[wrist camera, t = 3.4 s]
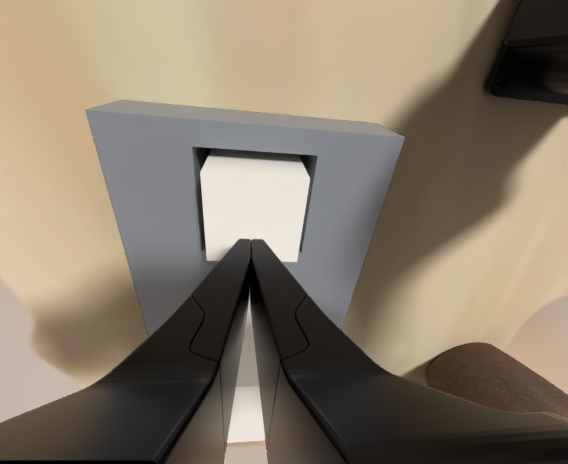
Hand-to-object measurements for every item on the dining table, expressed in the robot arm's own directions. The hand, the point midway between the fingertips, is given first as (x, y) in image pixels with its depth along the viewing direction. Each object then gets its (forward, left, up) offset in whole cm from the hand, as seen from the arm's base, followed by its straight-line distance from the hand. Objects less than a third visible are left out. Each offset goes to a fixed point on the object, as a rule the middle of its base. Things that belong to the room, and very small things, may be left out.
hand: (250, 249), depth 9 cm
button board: (0, +7, -6) cm, 9 cm away
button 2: (0, 0, -6) cm, 6 cm away
